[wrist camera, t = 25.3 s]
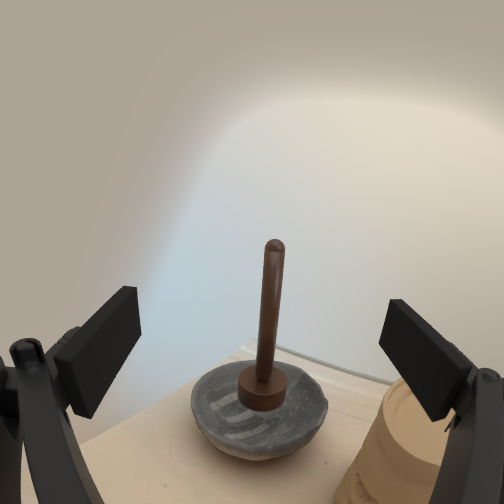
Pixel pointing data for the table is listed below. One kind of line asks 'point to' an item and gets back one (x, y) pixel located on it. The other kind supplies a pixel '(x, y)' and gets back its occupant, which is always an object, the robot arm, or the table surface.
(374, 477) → the container
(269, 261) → the brown peg on base
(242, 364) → the bowl
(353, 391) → the table surface
